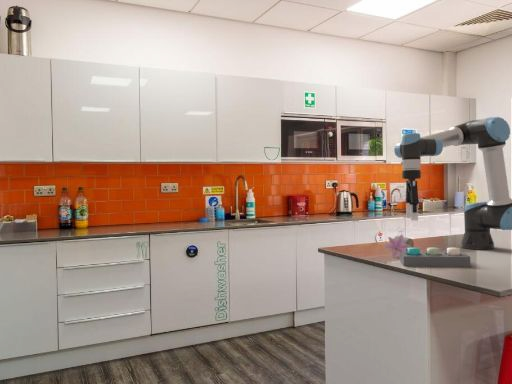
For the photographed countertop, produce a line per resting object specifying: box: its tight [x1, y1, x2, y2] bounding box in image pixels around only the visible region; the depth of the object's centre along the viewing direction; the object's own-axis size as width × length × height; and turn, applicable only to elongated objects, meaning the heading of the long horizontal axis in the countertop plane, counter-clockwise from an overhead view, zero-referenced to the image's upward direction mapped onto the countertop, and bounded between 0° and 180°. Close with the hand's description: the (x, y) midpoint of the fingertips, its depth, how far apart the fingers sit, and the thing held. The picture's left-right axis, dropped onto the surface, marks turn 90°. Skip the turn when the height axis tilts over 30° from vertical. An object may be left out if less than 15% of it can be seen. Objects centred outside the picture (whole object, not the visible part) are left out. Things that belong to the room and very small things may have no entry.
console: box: [399, 251, 471, 268], centre depth 186 cm, size 26×12×4 cm, turn 79°
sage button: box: [426, 246, 441, 255], centre depth 186 cm, size 5×5×4 cm
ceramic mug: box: [393, 235, 415, 252], centre depth 218 cm, size 11×8×8 cm
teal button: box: [407, 246, 421, 255], centre depth 187 cm, size 5×5×4 cm
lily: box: [382, 234, 411, 259], centre depth 205 cm, size 12×12×10 cm
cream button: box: [446, 247, 461, 256], centre depth 184 cm, size 5×5×4 cm
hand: (412, 219), depth 188 cm, fingers open, 13 cm apart
